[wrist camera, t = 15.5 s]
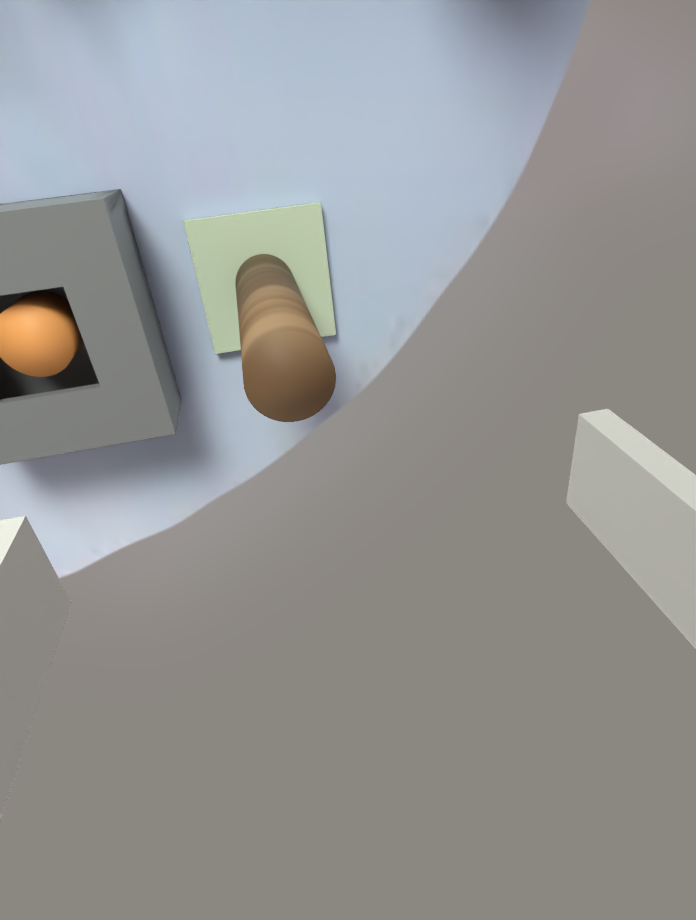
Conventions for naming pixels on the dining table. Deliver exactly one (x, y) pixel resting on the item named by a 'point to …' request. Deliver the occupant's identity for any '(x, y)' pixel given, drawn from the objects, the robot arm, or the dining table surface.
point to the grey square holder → (84, 330)
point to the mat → (252, 233)
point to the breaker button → (39, 334)
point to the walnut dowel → (280, 343)
